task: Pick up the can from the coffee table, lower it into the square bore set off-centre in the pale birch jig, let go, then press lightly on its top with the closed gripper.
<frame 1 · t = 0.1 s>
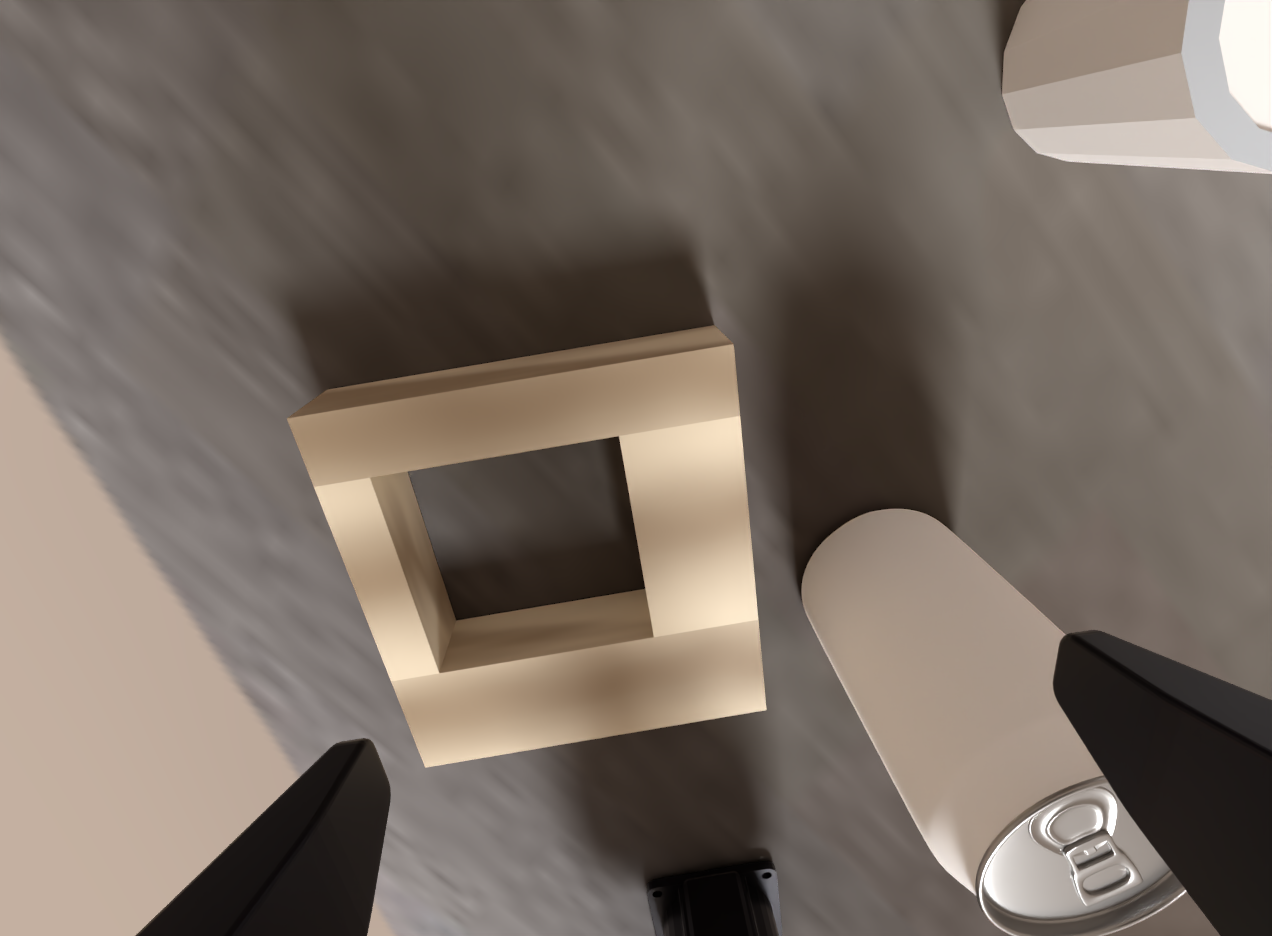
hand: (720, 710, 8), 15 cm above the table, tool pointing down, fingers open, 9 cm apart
white cup: (1090, 56, 19), on the table
can: (874, 572, 25), on the table
jig: (562, 539, 23), on the table
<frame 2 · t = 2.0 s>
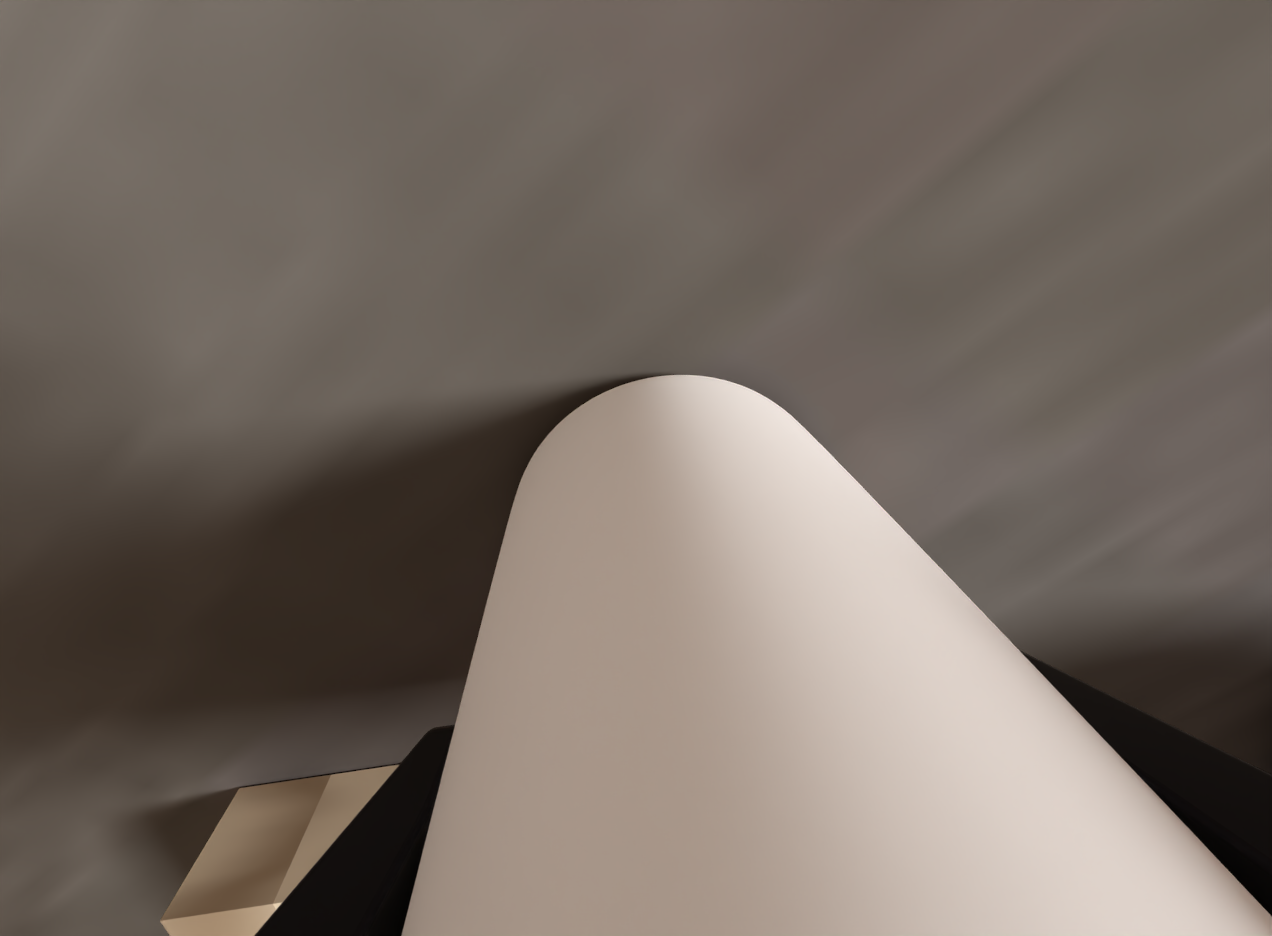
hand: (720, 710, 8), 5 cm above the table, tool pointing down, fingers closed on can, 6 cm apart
can: (670, 516, 13), on the table, touching gripper
jig: (574, 914, 18), on the table
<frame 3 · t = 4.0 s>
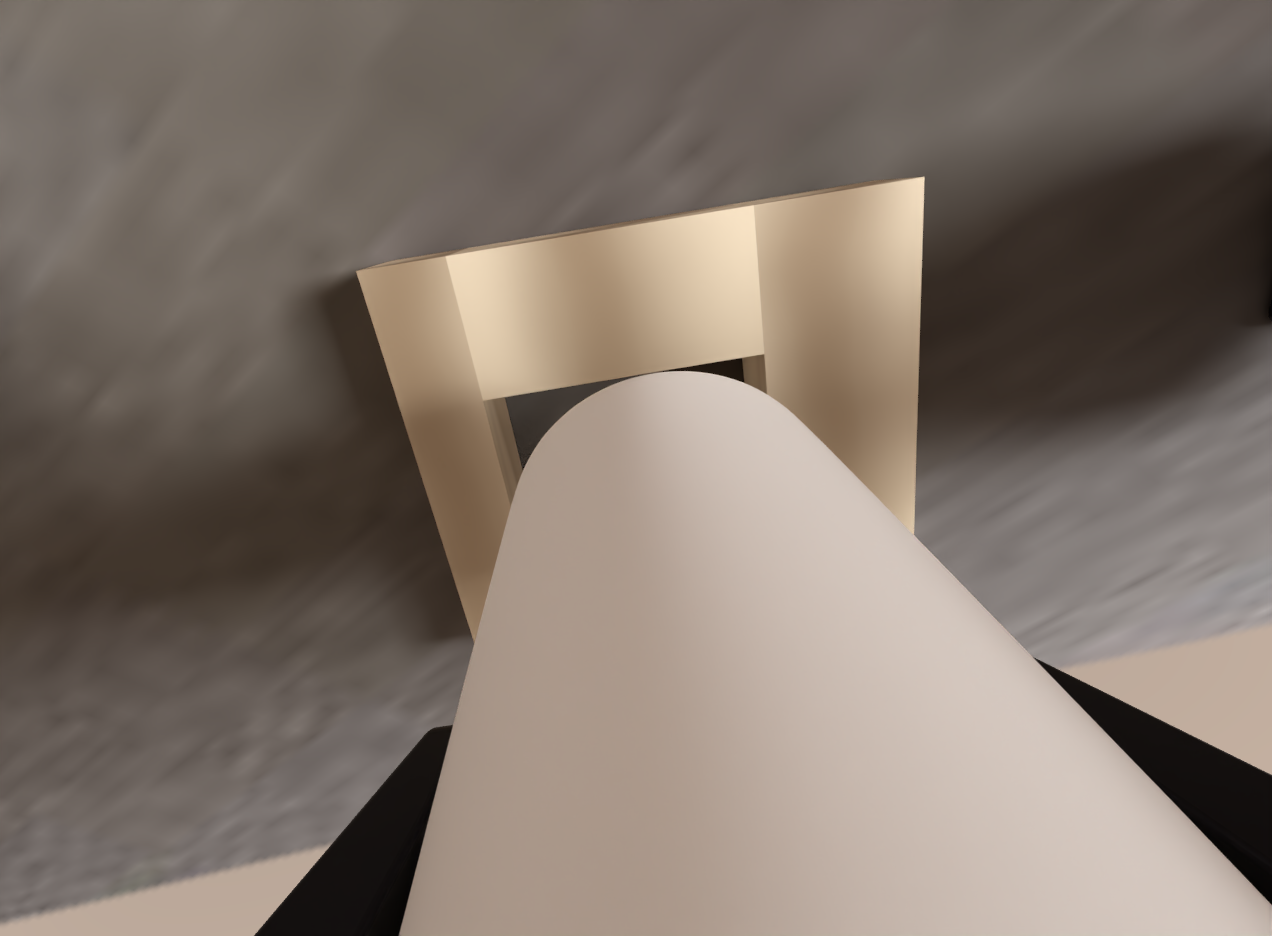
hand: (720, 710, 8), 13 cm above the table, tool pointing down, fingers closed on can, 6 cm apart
can: (670, 513, 13), point 8 cm above the table, touching gripper
jig: (663, 431, 21), on the table
when the fingers open (6 cm above the table, at t = 6.3 s): can stays where it is, resting in jig.
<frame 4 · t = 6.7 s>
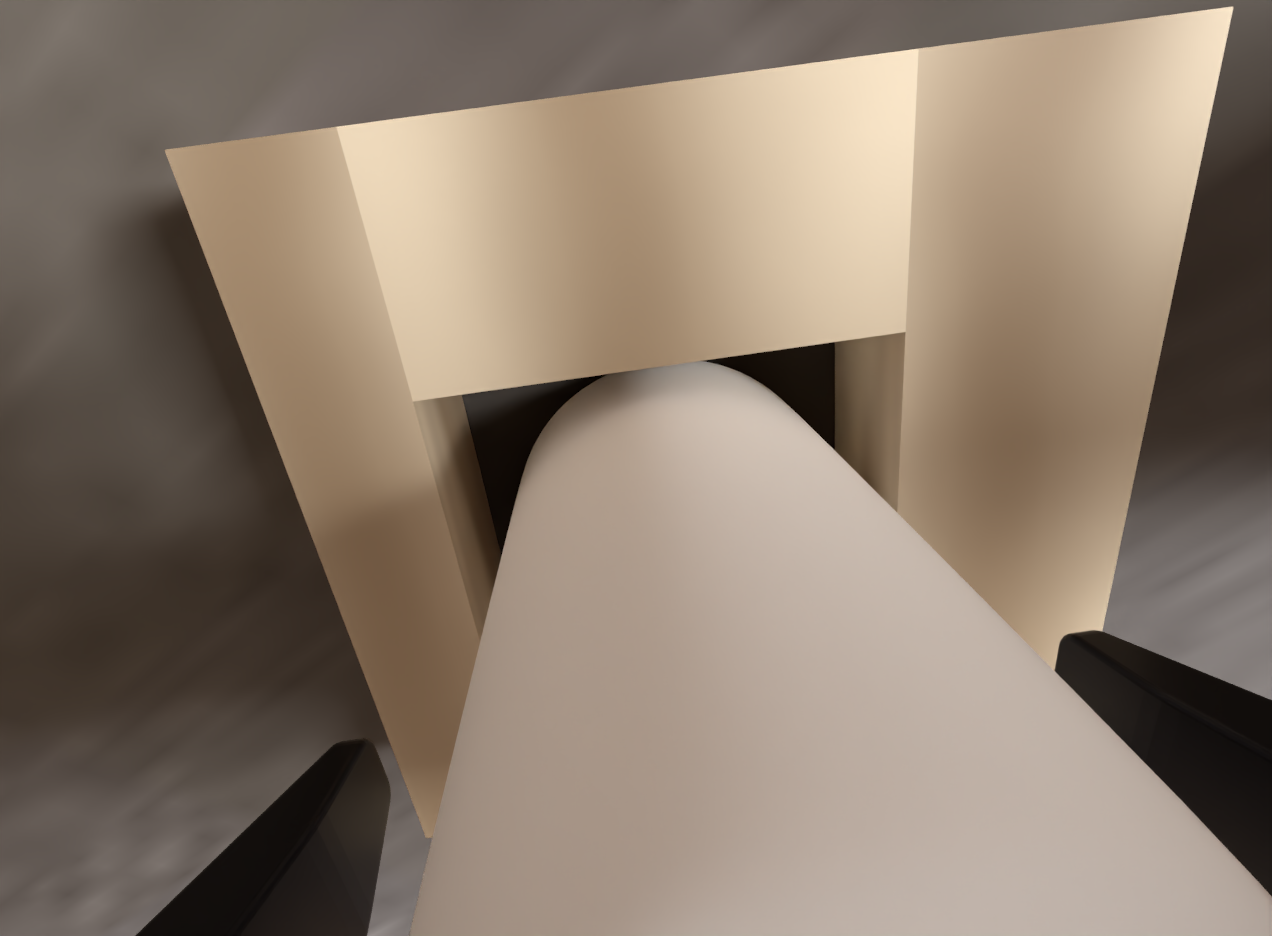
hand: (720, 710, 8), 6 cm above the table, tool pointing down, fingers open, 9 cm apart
can: (667, 494, 14), resting in jig
jig: (706, 453, 13), on the table
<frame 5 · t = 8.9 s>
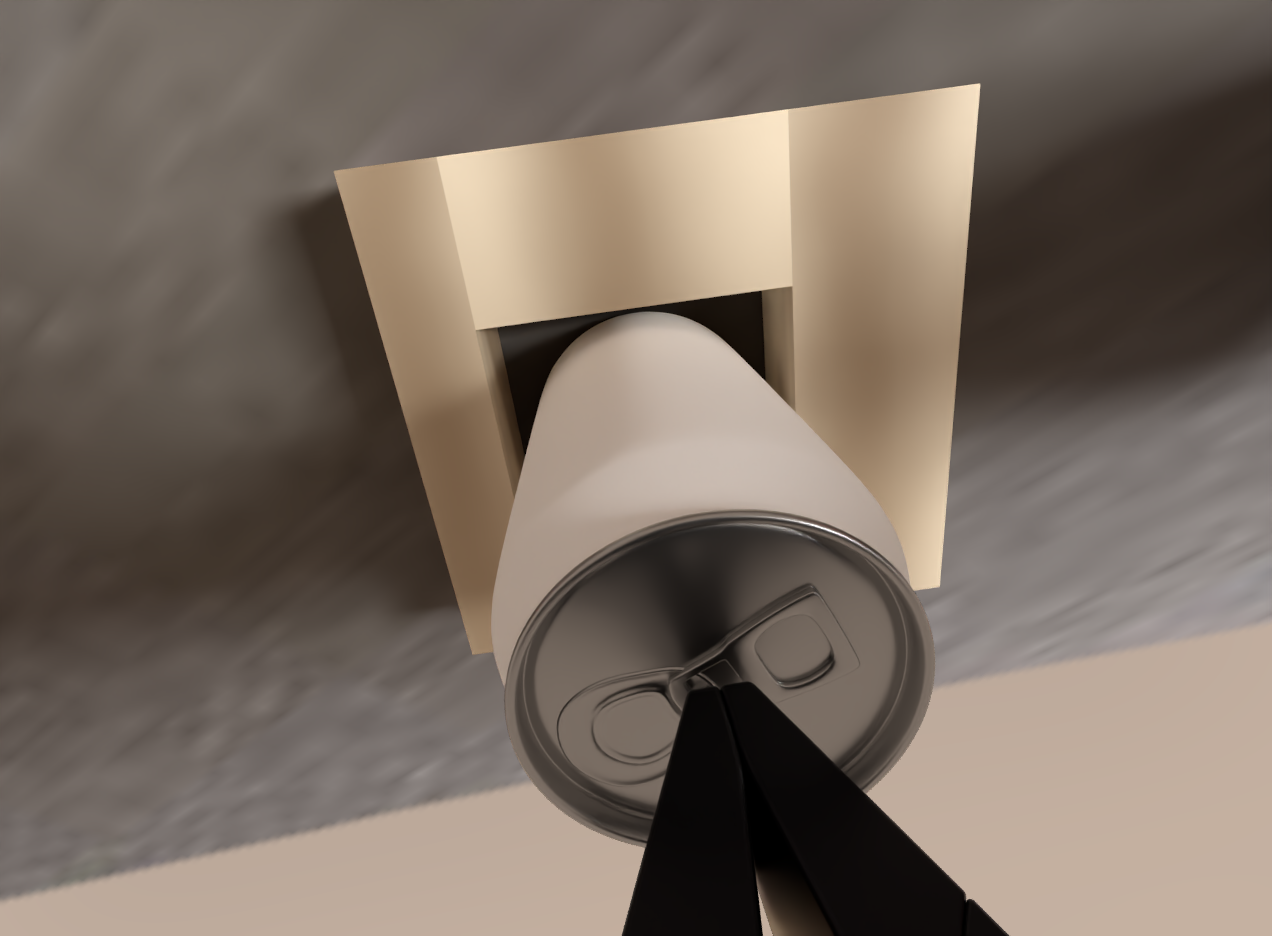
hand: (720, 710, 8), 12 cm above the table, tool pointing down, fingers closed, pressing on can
can: (646, 413, 19), resting in jig, touching gripper
jig: (672, 382, 19), on the table
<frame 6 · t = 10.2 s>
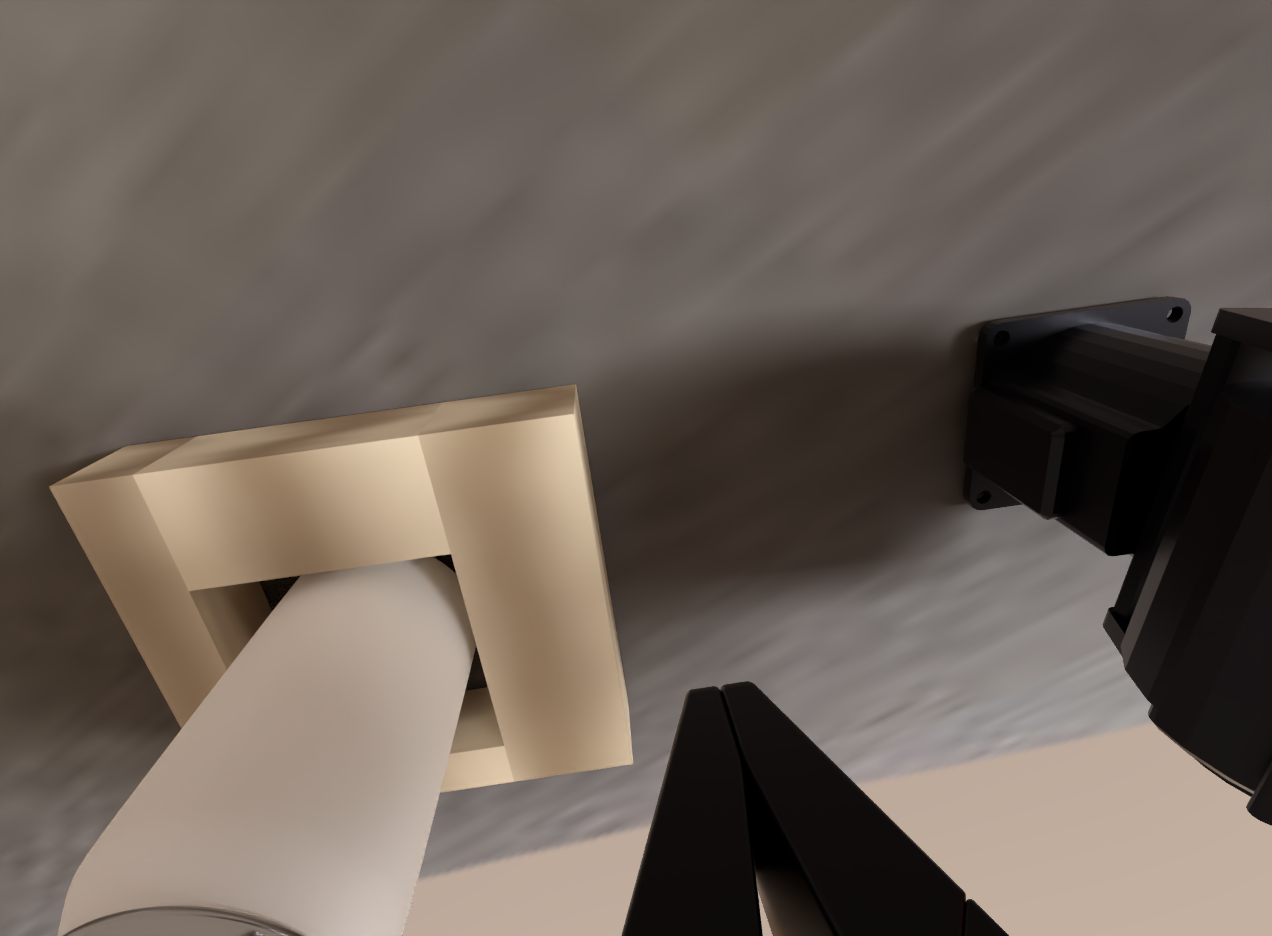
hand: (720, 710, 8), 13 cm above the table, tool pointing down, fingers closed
can: (391, 611, 23), resting in jig
jig: (407, 589, 22), on the table
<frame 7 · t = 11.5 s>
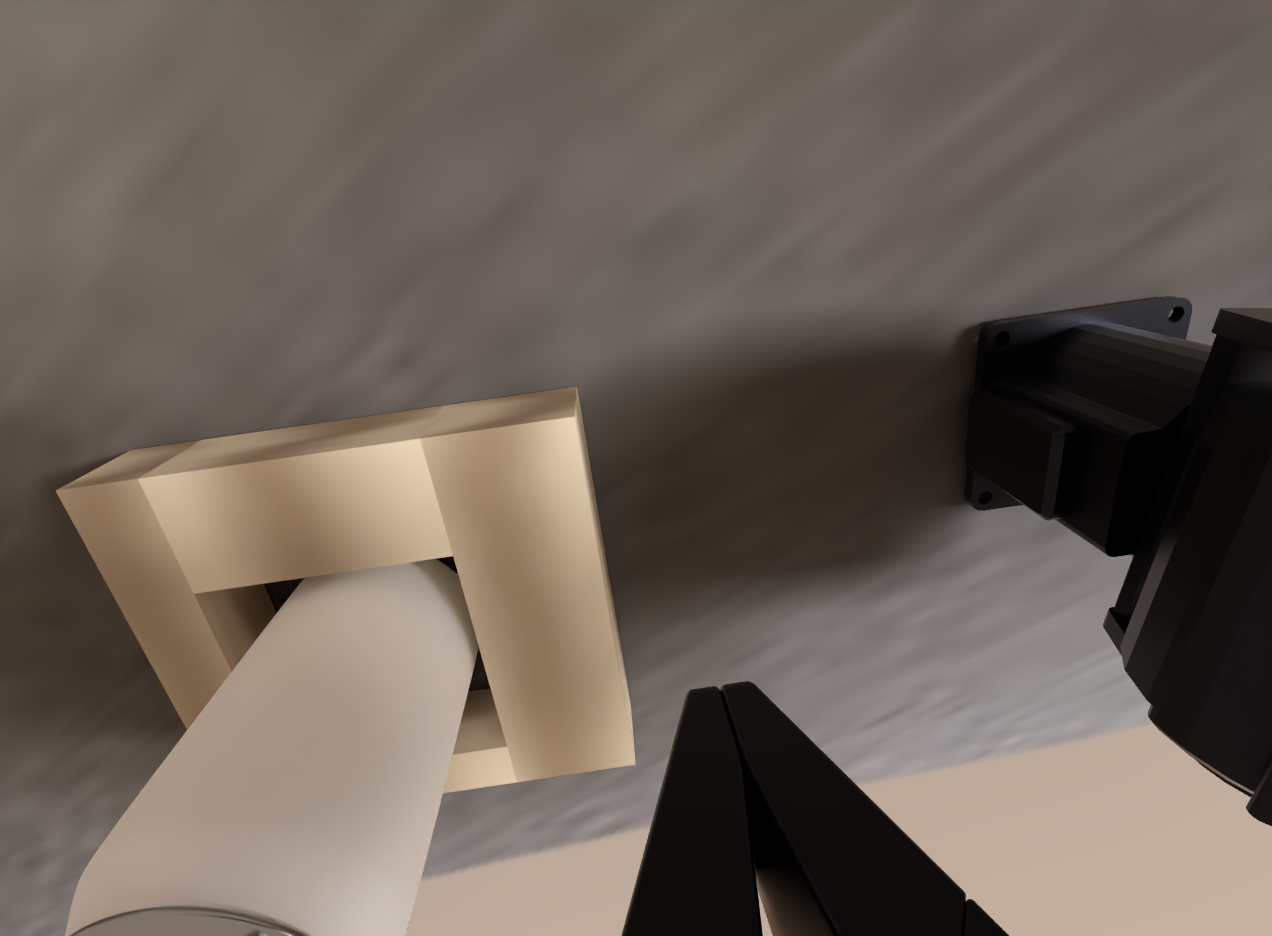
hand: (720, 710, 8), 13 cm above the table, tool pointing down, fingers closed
can: (394, 612, 23), resting in jig
jig: (410, 591, 22), on the table
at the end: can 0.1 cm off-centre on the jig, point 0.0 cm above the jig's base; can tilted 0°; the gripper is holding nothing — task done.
